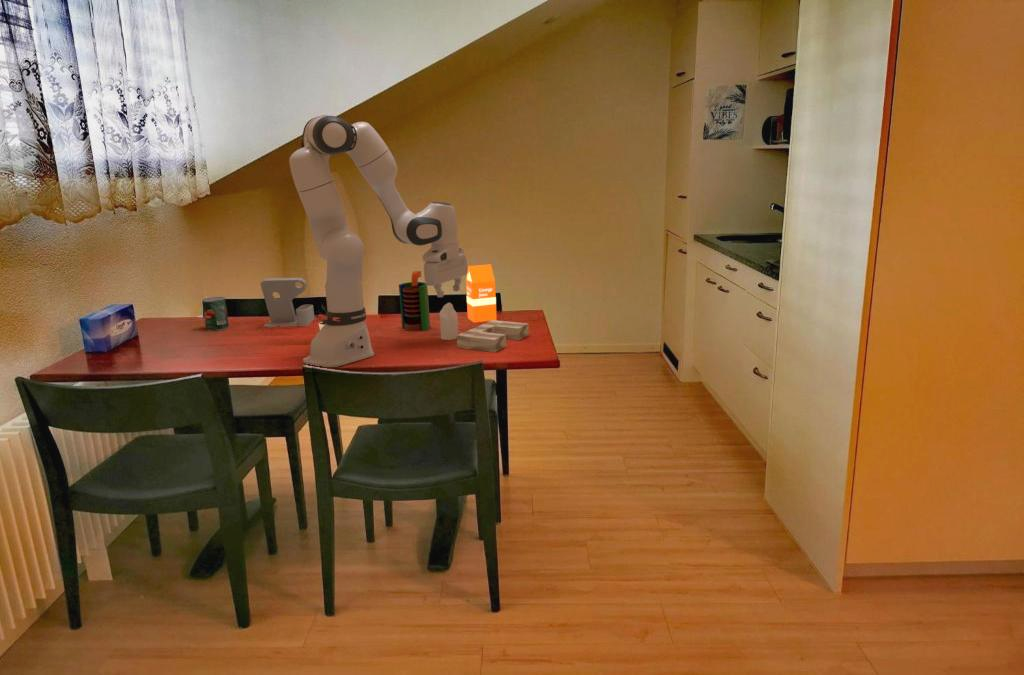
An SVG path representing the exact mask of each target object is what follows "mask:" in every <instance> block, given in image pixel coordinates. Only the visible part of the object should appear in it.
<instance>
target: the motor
mask: <svg viewBox="0 0 1024 675" xmlns="http://www.w3.org/2000/svg"><path fill="white" fill-rule="evenodd" d="M419 278H422V271H421V270H414V271H412V273H411V281H410V282H404V283H400V284H398V294H399V304H400V305H399V306H400V315H401V316H400V317H401V318H400V319H401V327H402V329H404V330H405V331H408V332H418V331H422V332H423V331H427V330H429V329H430V328H431V319H430V318H431V317H430V307H429V292H428V290H429V288H428V285H427V284H426V282H425V281H419Z"/></svg>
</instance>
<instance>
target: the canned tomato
mask: <svg viewBox="0 0 1024 675" xmlns="http://www.w3.org/2000/svg"><path fill="white" fill-rule="evenodd" d="M201 303H202V308H203V316H204V323H205V330H206V329H207V330H206V331H208V330H212V331H211V332H214V331H213V330H218V331H223V329H224V330H226V328H227V329H229V328H230V325H229V317H228V310H227V303H226V297H224V296H214V297H213V296H212V297H208V298H207V297H205V298H203V299H202V300H201ZM228 327H229V328H228Z"/></svg>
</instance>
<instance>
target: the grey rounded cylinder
mask: <svg viewBox="0 0 1024 675" xmlns="http://www.w3.org/2000/svg"><path fill="white" fill-rule="evenodd" d="M439 323H440V339H441V340H444V341H453V340H457V335H459V318H458V313H457V311H456V310H455V309H454V305H453V304H452V303H451V302H447V303H445V304H444V305H443V306H442V309H441V310H440V311H439Z"/></svg>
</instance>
